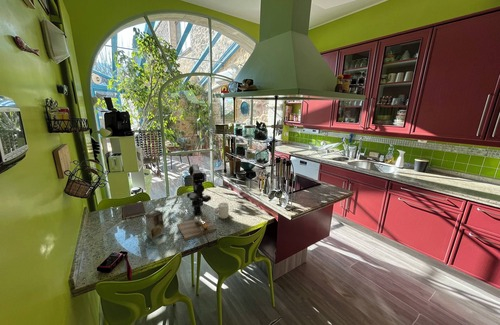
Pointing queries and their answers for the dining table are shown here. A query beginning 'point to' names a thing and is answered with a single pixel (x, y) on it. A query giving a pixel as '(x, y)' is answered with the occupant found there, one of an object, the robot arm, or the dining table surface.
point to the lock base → (194, 228)
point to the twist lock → (200, 222)
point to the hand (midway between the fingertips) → (199, 206)
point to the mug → (222, 210)
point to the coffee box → (154, 224)
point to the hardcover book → (133, 210)
